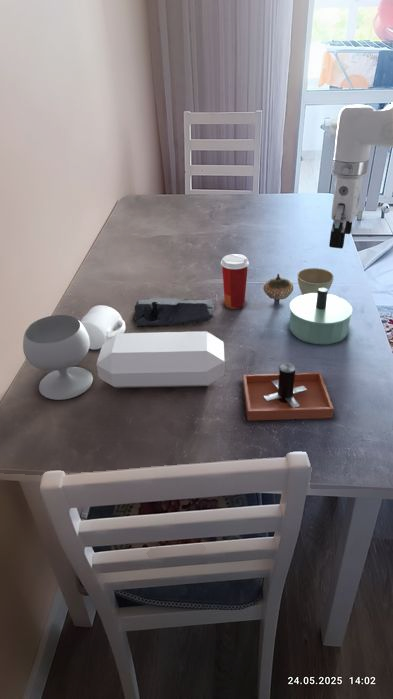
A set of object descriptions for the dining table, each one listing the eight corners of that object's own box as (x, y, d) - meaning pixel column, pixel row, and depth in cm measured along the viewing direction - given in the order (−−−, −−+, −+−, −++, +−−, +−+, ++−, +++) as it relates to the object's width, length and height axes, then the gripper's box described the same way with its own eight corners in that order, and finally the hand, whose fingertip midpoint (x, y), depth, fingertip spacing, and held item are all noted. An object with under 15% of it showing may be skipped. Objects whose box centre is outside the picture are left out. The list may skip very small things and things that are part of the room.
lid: (343, 295, 129) (346, 274, 126) (359, 325, 117) (363, 303, 113) (285, 297, 130) (286, 277, 126) (294, 328, 117) (296, 306, 113)
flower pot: (293, 290, 145) (295, 268, 141) (327, 289, 144) (330, 267, 140) (297, 306, 136) (300, 283, 132) (333, 306, 136) (336, 283, 132)
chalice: (29, 406, 105) (12, 349, 96) (41, 368, 116) (26, 314, 108) (94, 401, 105) (82, 344, 97) (99, 363, 117) (89, 309, 108)
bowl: (339, 314, 132) (342, 294, 129) (354, 343, 120) (357, 322, 117) (286, 315, 132) (287, 296, 129) (295, 345, 120) (297, 324, 117)
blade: (303, 383, 107) (306, 354, 102) (311, 412, 99) (315, 381, 94) (260, 384, 107) (261, 355, 103) (265, 413, 99) (267, 383, 95)
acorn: (290, 299, 140) (293, 267, 134) (292, 313, 133) (295, 280, 128) (262, 298, 141) (263, 267, 135) (262, 313, 134) (264, 280, 128)
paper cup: (251, 300, 140) (253, 255, 132) (242, 312, 135) (243, 266, 127) (226, 295, 143) (226, 251, 135) (216, 307, 138) (215, 262, 130)
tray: (319, 381, 108) (320, 372, 107) (332, 418, 98) (333, 408, 97) (242, 383, 108) (243, 374, 107) (247, 420, 98) (248, 411, 97)
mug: (75, 347, 123) (69, 320, 119) (91, 328, 131) (86, 302, 126) (119, 352, 120) (114, 325, 116) (132, 333, 128) (128, 306, 123)
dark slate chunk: (213, 329, 128) (212, 313, 125) (131, 328, 130) (129, 313, 127) (215, 301, 141) (215, 286, 138) (140, 301, 142) (139, 287, 140)
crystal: (224, 359, 100) (91, 362, 101) (225, 395, 105) (98, 397, 106) (222, 323, 112) (103, 326, 113) (223, 357, 117) (109, 359, 118)
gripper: (360, 178, 100) (349, 255, 110) (373, 159, 113) (361, 229, 123) (324, 176, 103) (316, 251, 113) (340, 157, 116) (332, 226, 125)
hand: (340, 240), depth 118 cm, fingers open, 9 cm apart
